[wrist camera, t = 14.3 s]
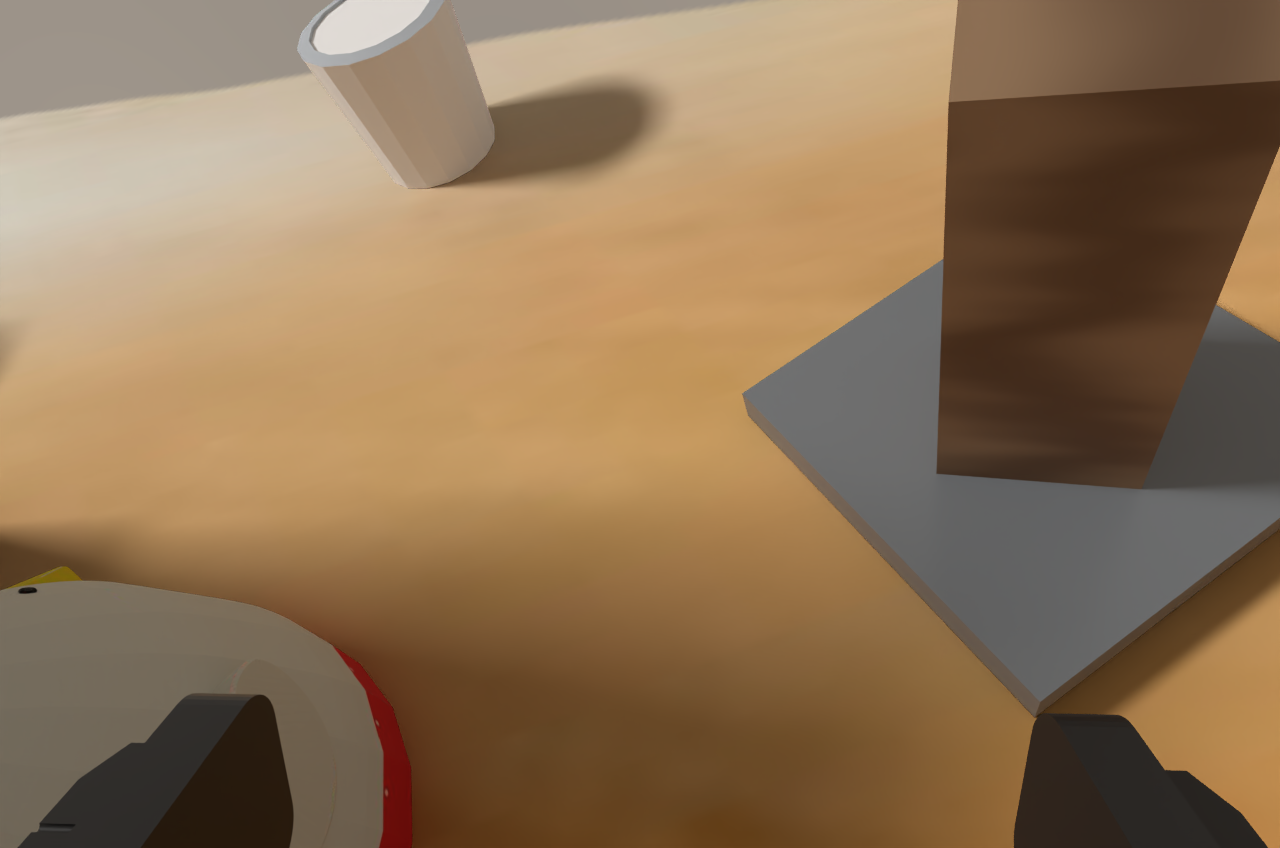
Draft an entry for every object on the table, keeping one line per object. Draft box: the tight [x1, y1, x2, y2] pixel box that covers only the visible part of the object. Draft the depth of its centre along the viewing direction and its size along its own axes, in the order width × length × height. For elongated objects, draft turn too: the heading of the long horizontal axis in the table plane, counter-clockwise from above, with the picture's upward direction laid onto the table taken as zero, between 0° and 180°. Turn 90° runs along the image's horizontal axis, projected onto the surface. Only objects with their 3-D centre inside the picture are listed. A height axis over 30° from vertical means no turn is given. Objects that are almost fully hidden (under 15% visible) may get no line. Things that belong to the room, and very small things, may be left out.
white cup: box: [297, 0, 495, 189], centre depth 39 cm, size 7×7×7 cm
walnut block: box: [936, 0, 1280, 489], centre depth 20 cm, size 5×5×12 cm
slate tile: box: [742, 259, 1280, 717], centre depth 25 cm, size 12×12×1 cm
